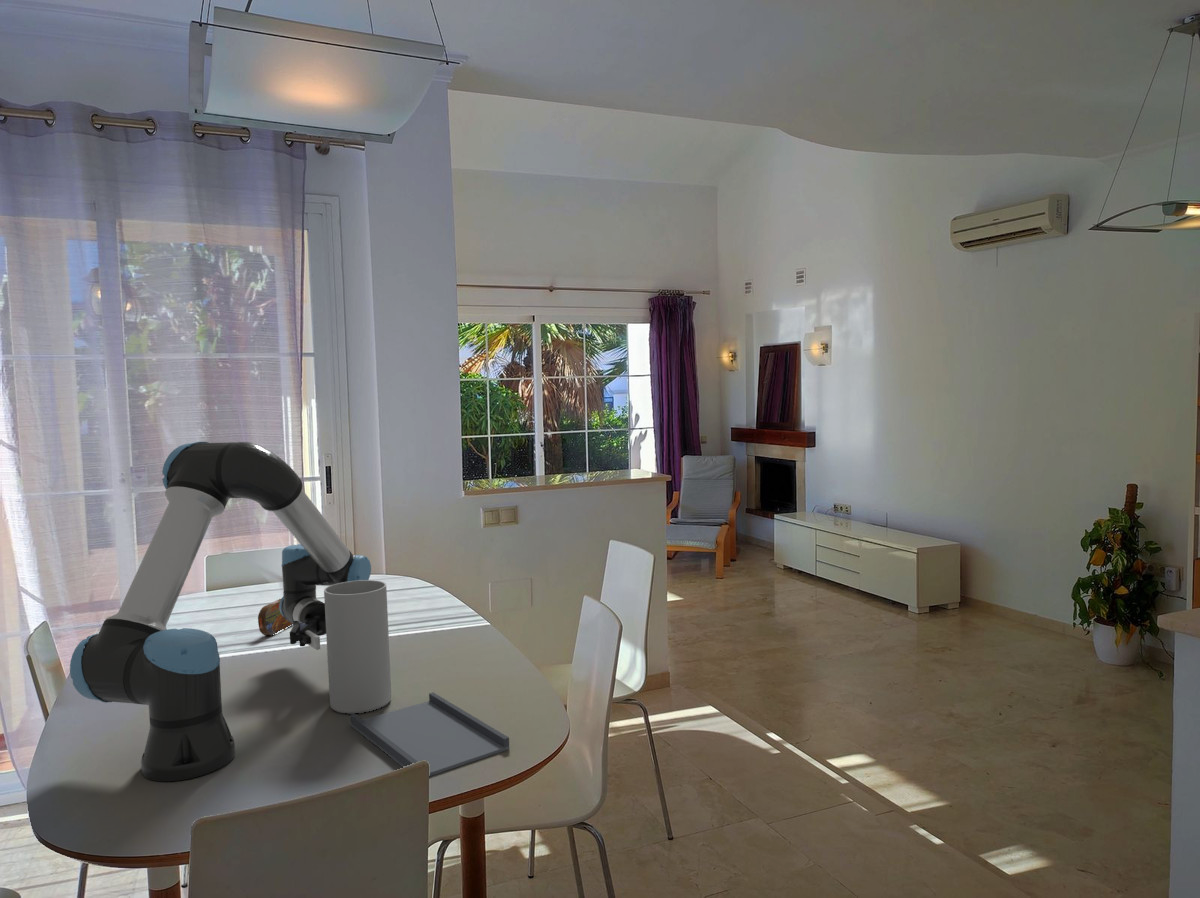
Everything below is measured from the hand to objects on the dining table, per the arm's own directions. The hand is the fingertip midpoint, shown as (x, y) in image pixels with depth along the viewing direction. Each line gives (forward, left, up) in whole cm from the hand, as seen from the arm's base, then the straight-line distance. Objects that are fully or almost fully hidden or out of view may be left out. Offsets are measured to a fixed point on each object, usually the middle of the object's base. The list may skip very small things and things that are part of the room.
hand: (349, 636), depth 180 cm
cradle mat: (-14, -28, -13) cm, 34 cm away
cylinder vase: (-4, -5, -13) cm, 15 cm away
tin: (+33, +52, -13) cm, 63 cm away
